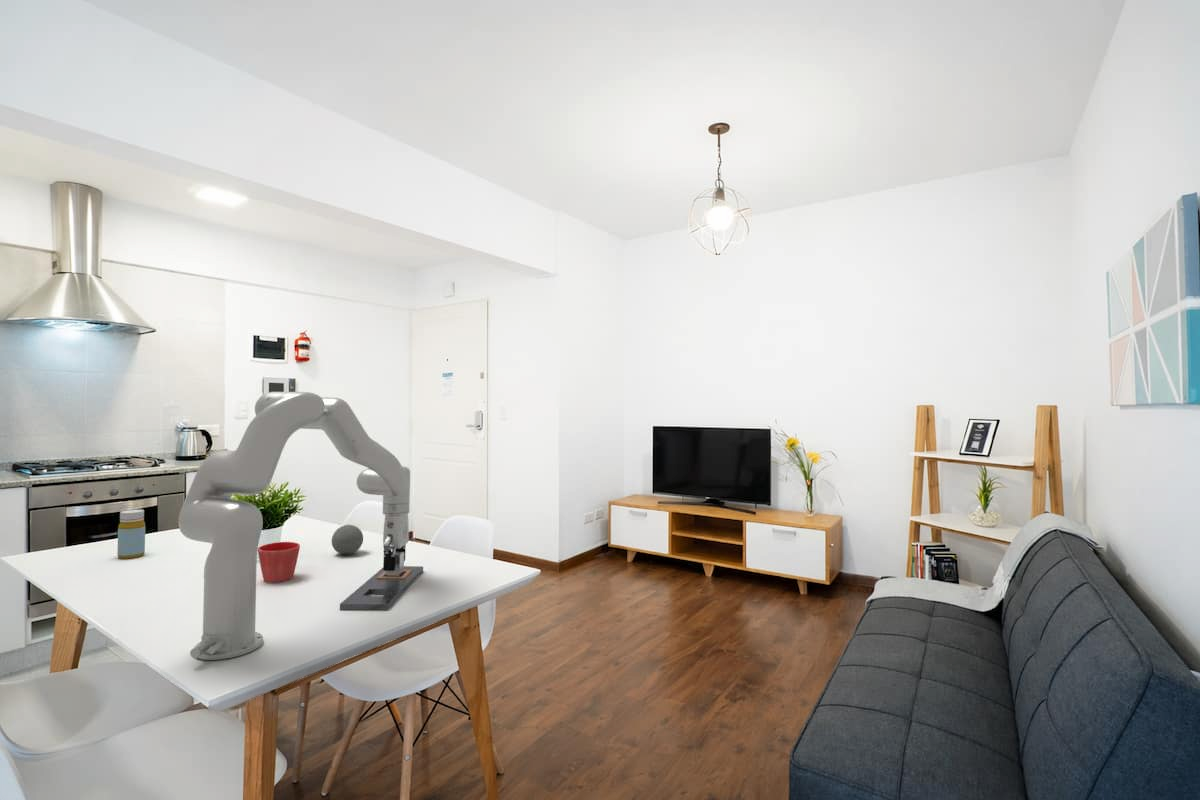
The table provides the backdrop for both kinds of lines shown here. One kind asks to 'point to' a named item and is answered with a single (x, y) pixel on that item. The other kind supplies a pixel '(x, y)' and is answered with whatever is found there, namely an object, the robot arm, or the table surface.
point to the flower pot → (278, 560)
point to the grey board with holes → (381, 590)
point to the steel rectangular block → (397, 566)
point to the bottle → (131, 534)
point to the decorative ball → (347, 539)
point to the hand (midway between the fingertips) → (394, 565)
